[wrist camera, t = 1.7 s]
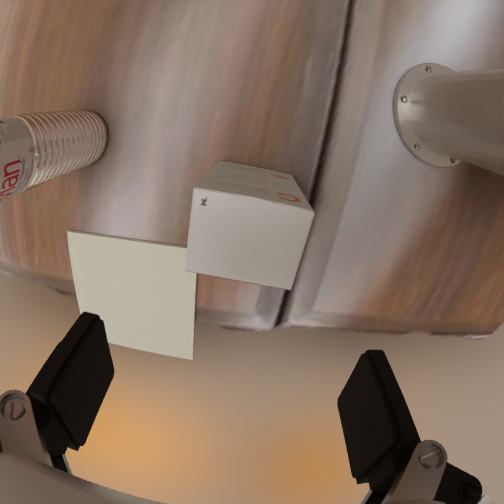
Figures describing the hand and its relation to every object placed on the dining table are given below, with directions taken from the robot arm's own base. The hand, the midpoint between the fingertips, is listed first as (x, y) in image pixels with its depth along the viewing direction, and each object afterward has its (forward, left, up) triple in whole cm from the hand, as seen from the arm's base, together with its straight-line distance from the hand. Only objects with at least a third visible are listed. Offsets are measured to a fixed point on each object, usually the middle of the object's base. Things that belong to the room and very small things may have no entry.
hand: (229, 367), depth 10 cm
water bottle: (+20, -5, -24) cm, 32 cm away
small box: (0, 0, -24) cm, 24 cm away
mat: (+14, +16, -24) cm, 32 cm away
